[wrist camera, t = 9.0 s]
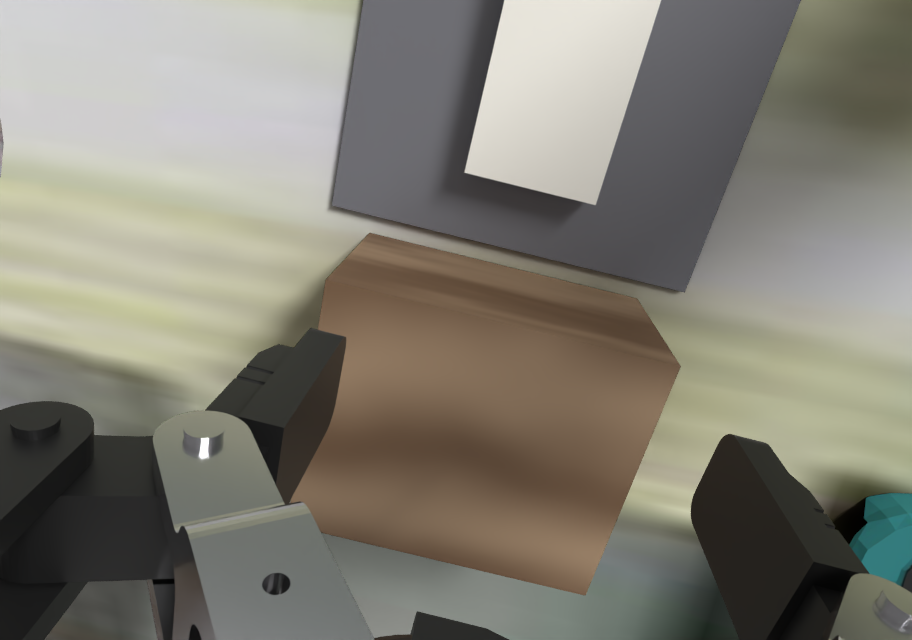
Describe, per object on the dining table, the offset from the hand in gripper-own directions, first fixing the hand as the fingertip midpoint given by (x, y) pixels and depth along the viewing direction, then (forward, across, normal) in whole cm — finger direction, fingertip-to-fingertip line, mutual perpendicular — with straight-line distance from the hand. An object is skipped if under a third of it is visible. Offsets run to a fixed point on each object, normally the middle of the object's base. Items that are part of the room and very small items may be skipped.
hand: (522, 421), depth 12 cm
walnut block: (+18, 0, +8) cm, 20 cm away
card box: (+16, 0, -7) cm, 18 cm away
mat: (+18, 0, -6) cm, 19 cm away
